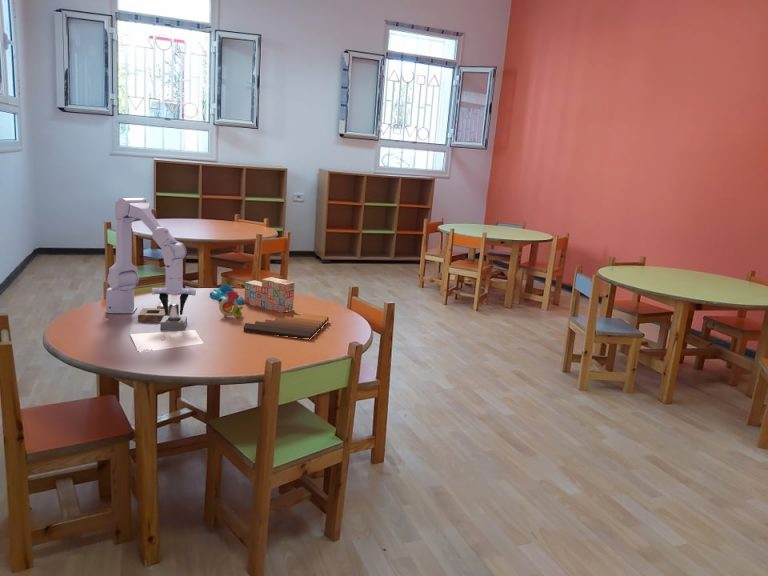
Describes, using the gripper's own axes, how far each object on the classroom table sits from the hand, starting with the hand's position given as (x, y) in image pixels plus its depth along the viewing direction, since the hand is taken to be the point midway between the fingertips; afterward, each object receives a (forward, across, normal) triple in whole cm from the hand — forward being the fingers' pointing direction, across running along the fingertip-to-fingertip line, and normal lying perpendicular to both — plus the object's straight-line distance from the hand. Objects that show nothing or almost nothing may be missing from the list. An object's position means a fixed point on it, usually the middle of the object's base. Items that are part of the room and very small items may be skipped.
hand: (174, 314), depth 205 cm
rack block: (+4, 0, 0) cm, 4 cm away
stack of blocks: (+5, +34, +29) cm, 45 cm away
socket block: (+4, -8, +9) cm, 13 cm away
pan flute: (+5, +41, +1) cm, 41 cm away
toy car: (+5, +17, +38) cm, 42 cm away
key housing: (+4, -6, +17) cm, 18 cm away
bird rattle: (+5, +20, +13) cm, 24 cm away
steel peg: (+4, 0, 0) cm, 4 cm away
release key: (+4, -6, +18) cm, 19 cm away
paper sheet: (+5, +2, -22) cm, 23 cm away
